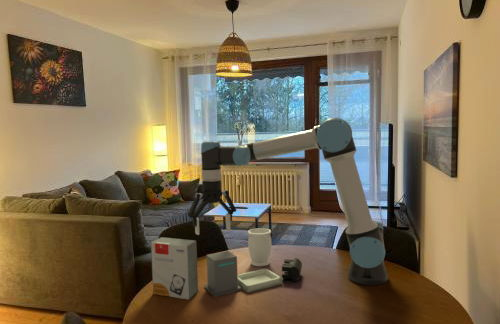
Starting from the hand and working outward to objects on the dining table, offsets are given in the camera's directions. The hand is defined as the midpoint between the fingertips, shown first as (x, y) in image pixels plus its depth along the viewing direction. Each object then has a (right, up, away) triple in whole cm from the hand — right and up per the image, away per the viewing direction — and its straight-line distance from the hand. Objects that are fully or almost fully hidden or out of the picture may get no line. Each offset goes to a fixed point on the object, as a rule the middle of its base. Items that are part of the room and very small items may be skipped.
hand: (213, 231), depth 153 cm
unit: (+5, -20, -10) cm, 23 cm away
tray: (+18, -19, -5) cm, 27 cm away
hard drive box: (-13, -21, -12) cm, 27 cm away
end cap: (+32, -19, -1) cm, 37 cm away
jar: (+20, -18, +16) cm, 31 cm away
